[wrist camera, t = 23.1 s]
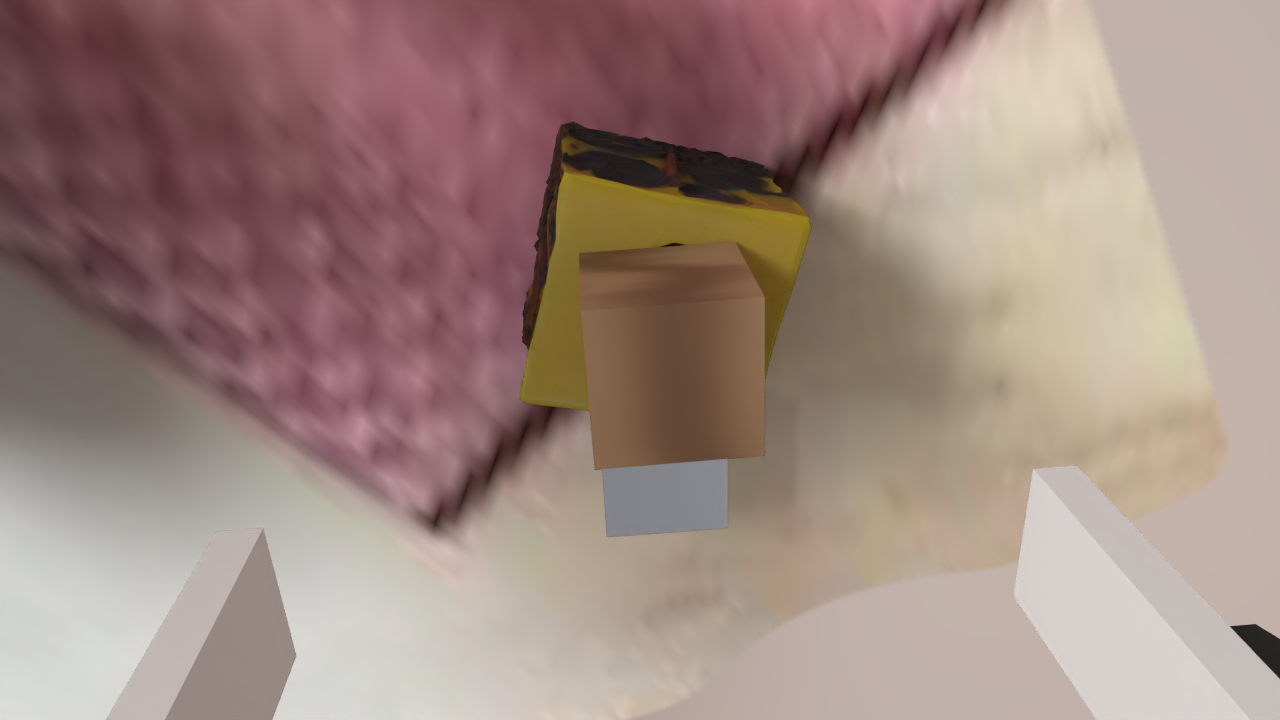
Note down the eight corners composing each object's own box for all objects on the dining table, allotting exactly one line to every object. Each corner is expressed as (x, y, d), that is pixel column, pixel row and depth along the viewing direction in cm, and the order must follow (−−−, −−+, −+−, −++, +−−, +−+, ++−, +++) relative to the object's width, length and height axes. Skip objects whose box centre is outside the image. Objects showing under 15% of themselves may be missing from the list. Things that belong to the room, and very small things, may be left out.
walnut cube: (591, 393, 38) (594, 469, 33) (578, 253, 35) (580, 311, 30) (736, 381, 38) (764, 455, 33) (734, 241, 36) (764, 296, 30)
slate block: (602, 472, 51) (606, 537, 46) (596, 374, 49) (599, 430, 43) (710, 465, 51) (727, 528, 46) (710, 367, 49) (727, 421, 43)
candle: (521, 316, 47) (510, 407, 38) (556, 116, 43) (553, 166, 34) (715, 349, 49) (749, 444, 40) (766, 159, 45) (816, 217, 36)
